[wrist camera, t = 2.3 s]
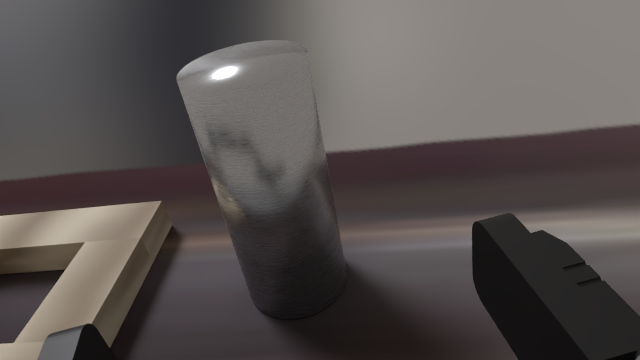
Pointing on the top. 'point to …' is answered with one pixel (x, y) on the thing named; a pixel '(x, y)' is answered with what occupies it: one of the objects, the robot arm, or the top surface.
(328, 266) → the grey cylinder
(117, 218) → the mounting board
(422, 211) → the top surface
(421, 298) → the top surface
